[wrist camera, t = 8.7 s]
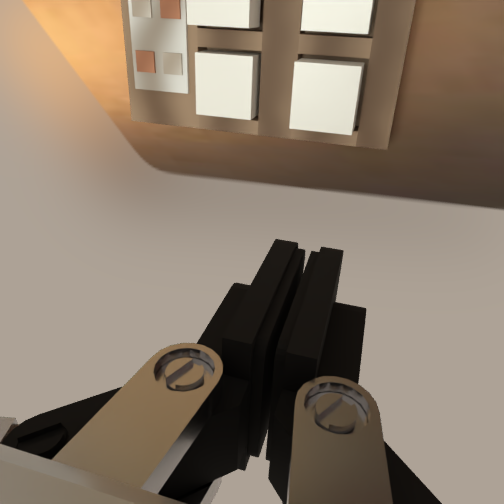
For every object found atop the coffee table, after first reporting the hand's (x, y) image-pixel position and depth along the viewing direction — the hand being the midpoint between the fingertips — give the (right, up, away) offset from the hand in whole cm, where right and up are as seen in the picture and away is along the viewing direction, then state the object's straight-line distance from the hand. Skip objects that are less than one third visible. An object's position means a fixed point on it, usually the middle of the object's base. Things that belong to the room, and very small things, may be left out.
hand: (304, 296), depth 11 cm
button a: (+5, +19, +20) cm, 29 cm away
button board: (0, +18, +25) cm, 31 cm away
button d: (-3, +15, +25) cm, 30 cm away
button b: (+4, +13, +22) cm, 26 cm away
